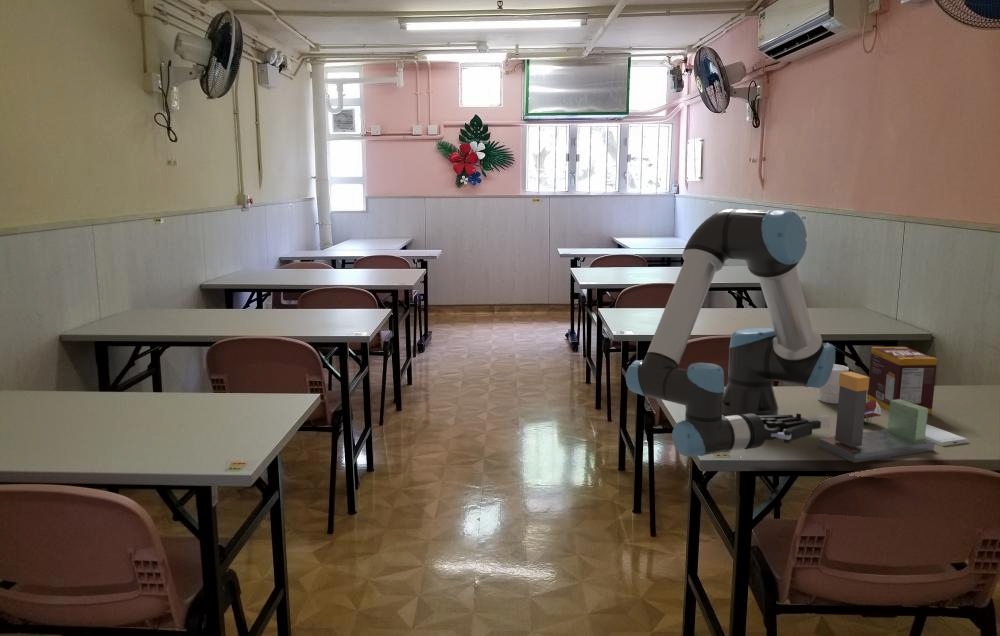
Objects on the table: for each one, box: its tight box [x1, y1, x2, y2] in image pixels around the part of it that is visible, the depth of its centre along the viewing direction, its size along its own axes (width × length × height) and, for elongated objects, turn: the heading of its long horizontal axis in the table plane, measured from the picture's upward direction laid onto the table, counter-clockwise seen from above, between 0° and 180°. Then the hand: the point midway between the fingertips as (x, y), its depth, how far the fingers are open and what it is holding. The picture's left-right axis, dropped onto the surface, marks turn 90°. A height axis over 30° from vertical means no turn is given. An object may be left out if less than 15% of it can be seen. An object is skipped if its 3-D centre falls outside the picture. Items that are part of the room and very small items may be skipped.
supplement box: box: [866, 346, 938, 415], centre depth 209 cm, size 10×15×16 cm
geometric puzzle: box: [864, 400, 882, 425], centre depth 195 cm, size 7×7×8 cm
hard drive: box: [925, 423, 969, 447], centre depth 185 cm, size 2×8×12 cm
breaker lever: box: [834, 371, 870, 447], centre depth 172 cm, size 3×5×16 cm, turn 20°
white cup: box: [817, 363, 850, 405], centre depth 214 cm, size 8×8×10 cm
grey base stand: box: [817, 399, 936, 464], centre depth 176 cm, size 24×11×10 cm, turn 110°
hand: (827, 421), depth 170 cm, fingers closed
